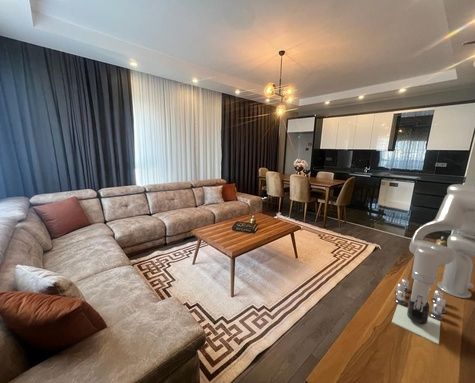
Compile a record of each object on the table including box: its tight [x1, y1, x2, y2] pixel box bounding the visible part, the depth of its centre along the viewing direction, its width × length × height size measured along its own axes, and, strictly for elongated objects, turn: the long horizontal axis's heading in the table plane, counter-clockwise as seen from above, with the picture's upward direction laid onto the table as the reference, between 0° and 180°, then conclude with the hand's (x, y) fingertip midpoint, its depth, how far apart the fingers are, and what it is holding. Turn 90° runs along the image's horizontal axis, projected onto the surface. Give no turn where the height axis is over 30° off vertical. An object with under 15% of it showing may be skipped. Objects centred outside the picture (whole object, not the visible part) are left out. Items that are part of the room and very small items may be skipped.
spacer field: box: [394, 277, 447, 321], centre depth 102 cm, size 17×19×6 cm
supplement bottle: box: [407, 296, 431, 324], centre depth 88 cm, size 7×7×12 cm
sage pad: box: [391, 303, 441, 346], centre depth 90 cm, size 15×15×1 cm
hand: (417, 312), depth 89 cm, fingers closed on supplement bottle, 6 cm apart
